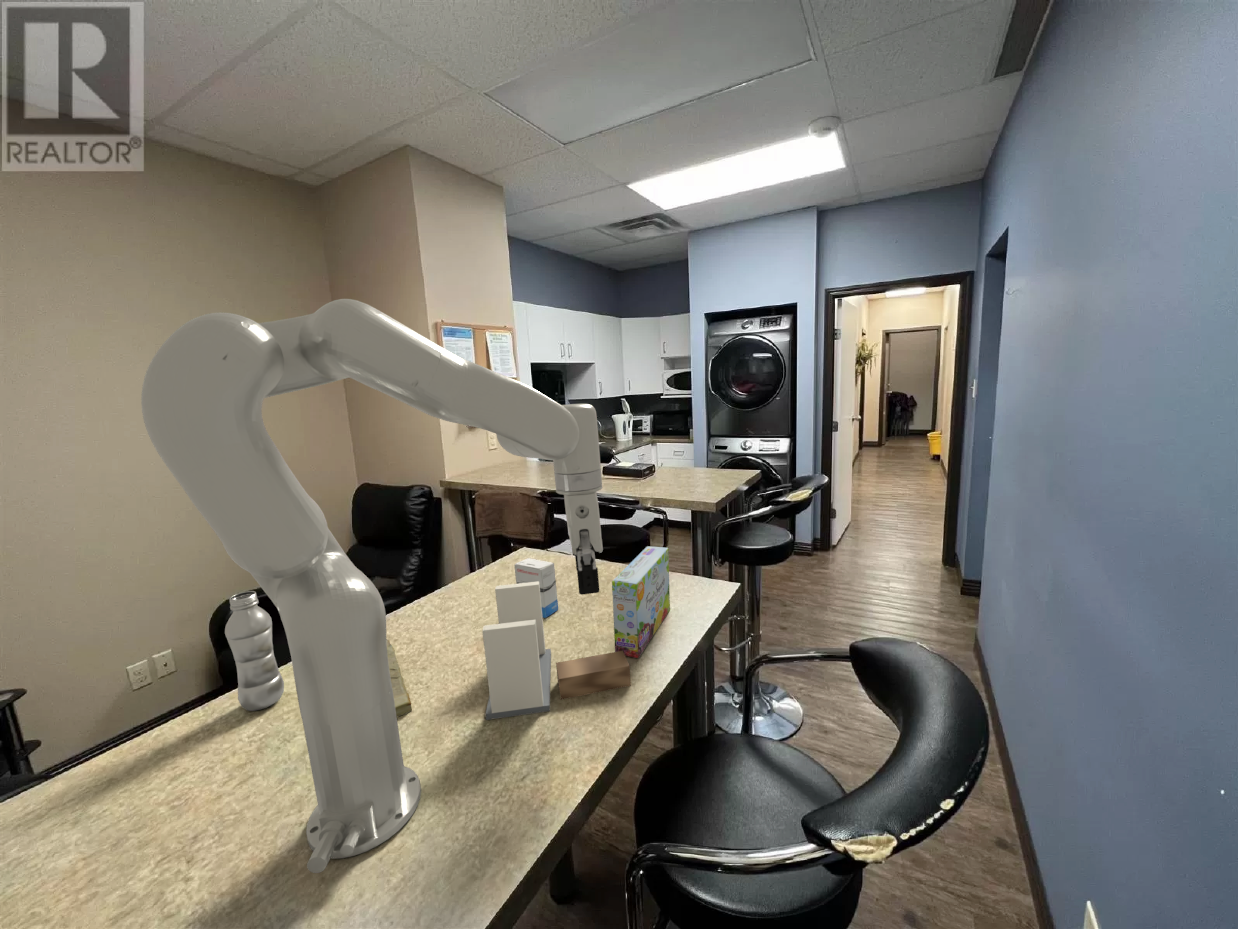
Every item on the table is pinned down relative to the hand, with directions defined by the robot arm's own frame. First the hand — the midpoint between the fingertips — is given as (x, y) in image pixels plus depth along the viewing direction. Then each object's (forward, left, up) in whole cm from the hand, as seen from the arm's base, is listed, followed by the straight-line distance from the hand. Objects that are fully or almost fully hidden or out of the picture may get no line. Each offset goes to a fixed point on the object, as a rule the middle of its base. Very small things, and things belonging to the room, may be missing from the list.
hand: (587, 580), depth 80 cm
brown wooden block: (0, 0, -19) cm, 19 cm away
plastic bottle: (+7, +57, -19) cm, 61 cm away
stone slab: (+10, +42, -19) cm, 47 cm away
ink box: (+31, +11, -19) cm, 38 cm away
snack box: (+16, -12, -19) cm, 27 cm away
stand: (+3, +13, -19) cm, 23 cm away
